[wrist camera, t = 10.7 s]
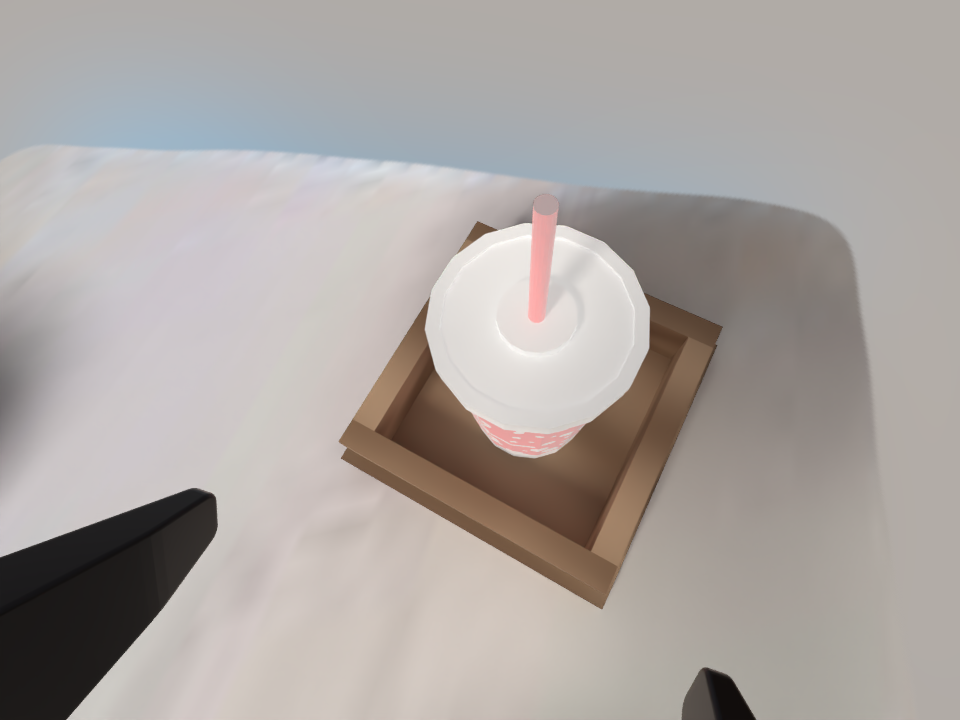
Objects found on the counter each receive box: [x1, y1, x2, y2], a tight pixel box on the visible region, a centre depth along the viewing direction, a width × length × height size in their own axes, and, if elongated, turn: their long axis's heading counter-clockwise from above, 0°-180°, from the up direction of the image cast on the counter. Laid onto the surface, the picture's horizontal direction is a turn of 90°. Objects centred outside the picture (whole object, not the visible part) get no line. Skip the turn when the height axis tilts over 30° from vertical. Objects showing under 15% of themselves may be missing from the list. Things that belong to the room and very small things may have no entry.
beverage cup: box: [425, 194, 650, 458], centre depth 16 cm, size 6×6×14 cm
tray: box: [339, 221, 722, 609], centre depth 22 cm, size 12×12×4 cm
